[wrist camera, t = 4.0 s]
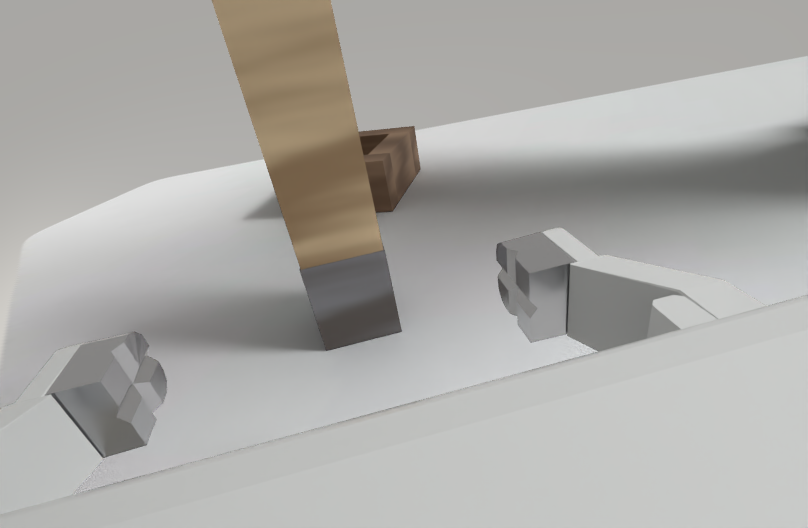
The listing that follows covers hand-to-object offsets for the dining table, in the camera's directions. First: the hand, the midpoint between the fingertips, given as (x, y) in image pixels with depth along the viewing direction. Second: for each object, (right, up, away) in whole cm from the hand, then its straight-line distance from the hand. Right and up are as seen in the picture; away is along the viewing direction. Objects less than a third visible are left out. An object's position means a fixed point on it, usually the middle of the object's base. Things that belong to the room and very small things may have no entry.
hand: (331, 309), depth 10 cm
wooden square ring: (-3, +8, +33) cm, 34 cm away
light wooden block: (-1, -2, +15) cm, 15 cm away
